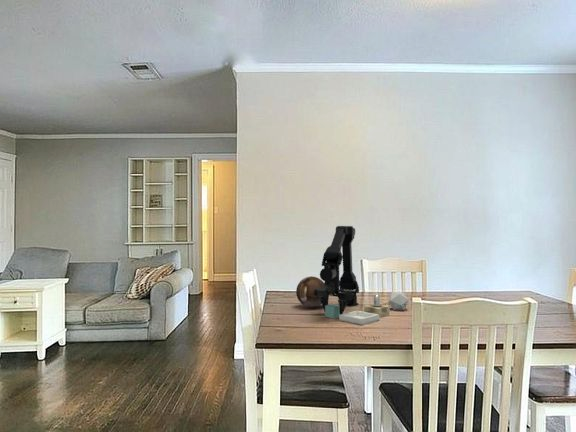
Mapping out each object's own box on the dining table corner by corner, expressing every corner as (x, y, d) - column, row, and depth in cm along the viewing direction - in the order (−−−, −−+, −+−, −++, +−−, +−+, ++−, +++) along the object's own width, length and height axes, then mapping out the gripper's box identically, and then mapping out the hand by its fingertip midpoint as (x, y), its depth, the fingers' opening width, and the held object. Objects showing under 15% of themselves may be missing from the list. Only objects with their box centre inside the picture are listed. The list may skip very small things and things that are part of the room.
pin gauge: (376, 314, 213) (376, 294, 213) (380, 315, 212) (380, 295, 211) (372, 315, 212) (372, 295, 212) (377, 316, 210) (377, 295, 210)
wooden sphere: (314, 302, 241) (314, 273, 240) (333, 307, 228) (333, 277, 228) (290, 306, 232) (290, 276, 232) (308, 311, 220) (308, 279, 220)
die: (404, 313, 217) (413, 295, 220) (386, 303, 218) (396, 285, 222) (399, 316, 225) (409, 298, 228) (383, 306, 226) (392, 289, 230)
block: (325, 316, 210) (325, 305, 209) (332, 314, 213) (332, 303, 213) (333, 318, 206) (333, 307, 206) (341, 316, 209) (341, 305, 209)
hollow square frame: (364, 315, 212) (364, 306, 212) (374, 312, 217) (374, 303, 217) (378, 317, 206) (378, 308, 206) (389, 315, 211) (389, 306, 211)
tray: (339, 320, 202) (339, 314, 202) (356, 316, 210) (356, 310, 210) (361, 325, 193) (361, 319, 193) (379, 320, 201) (379, 314, 201)
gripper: (305, 278, 211) (305, 312, 211) (336, 282, 197) (337, 319, 197) (322, 275, 218) (322, 309, 218) (353, 279, 205) (354, 315, 205)
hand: (333, 313), depth 209 cm, fingers open, 9 cm apart
